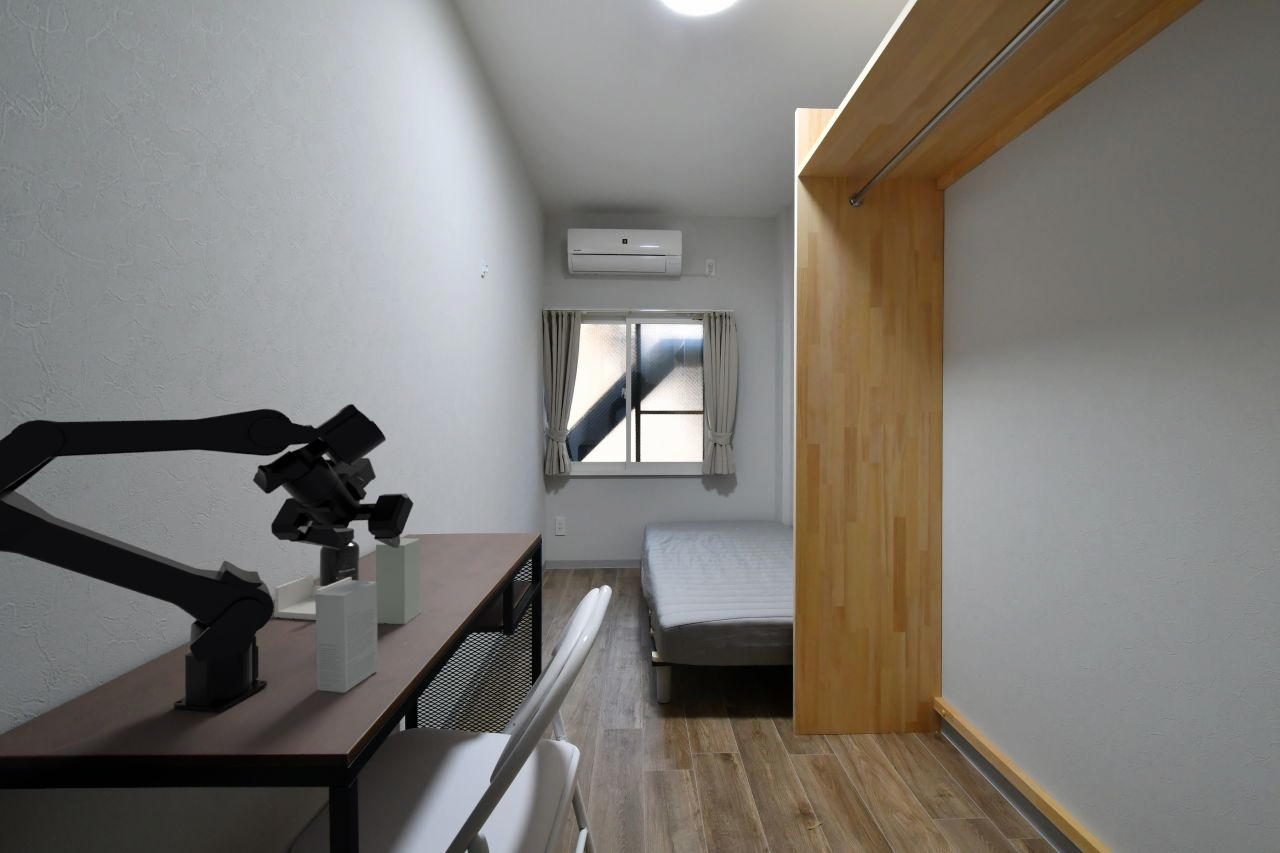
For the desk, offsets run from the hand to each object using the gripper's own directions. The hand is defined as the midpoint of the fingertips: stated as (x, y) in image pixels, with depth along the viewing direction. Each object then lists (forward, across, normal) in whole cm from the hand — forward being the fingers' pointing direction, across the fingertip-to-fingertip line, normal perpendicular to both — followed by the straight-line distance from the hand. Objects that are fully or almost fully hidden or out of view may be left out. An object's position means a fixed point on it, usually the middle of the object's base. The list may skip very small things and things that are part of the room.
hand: (370, 546), depth 81 cm
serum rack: (+16, +13, +4) cm, 21 cm away
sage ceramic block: (+15, 0, +5) cm, 16 cm away
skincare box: (-1, -5, +20) cm, 21 cm away
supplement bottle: (+24, +20, -4) cm, 32 cm away
